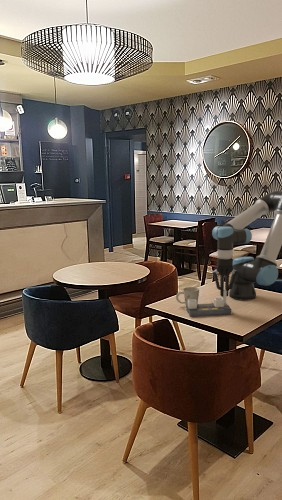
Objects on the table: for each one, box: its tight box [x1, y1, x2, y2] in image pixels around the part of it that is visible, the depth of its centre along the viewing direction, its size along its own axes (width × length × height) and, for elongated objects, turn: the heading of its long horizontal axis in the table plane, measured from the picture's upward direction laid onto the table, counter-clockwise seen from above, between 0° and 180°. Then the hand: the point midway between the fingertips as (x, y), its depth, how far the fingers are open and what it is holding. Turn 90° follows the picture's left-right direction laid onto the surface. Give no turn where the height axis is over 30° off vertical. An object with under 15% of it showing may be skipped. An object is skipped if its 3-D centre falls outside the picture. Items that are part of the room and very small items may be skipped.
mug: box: [175, 286, 200, 309], centre depth 212 cm, size 8×13×10 cm, turn 78°
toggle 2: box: [213, 297, 224, 307], centre depth 203 cm, size 4×4×4 cm
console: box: [186, 302, 232, 318], centre depth 203 cm, size 21×10×3 cm, turn 94°
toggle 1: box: [188, 299, 197, 309], centre depth 202 cm, size 4×4×4 cm
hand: (224, 302), depth 203 cm, fingers closed
